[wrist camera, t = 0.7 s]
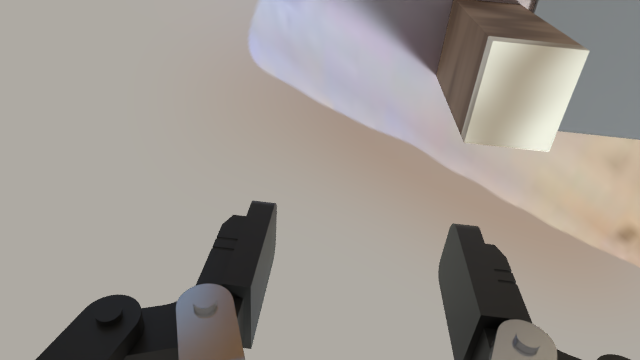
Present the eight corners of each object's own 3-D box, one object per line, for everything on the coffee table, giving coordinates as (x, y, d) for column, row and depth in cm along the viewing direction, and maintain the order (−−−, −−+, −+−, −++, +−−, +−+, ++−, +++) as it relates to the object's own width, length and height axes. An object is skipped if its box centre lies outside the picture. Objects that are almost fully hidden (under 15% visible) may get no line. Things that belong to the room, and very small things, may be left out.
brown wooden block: (520, 4, 33) (589, 50, 23) (497, 82, 37) (548, 151, 26) (453, -2, 34) (492, 40, 23) (436, 75, 37) (464, 142, 27)
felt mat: (776, -25, 31) (781, -24, 31) (681, 142, 38) (683, 144, 38) (551, -47, 31) (553, -46, 31) (497, 122, 38) (498, 124, 38)
